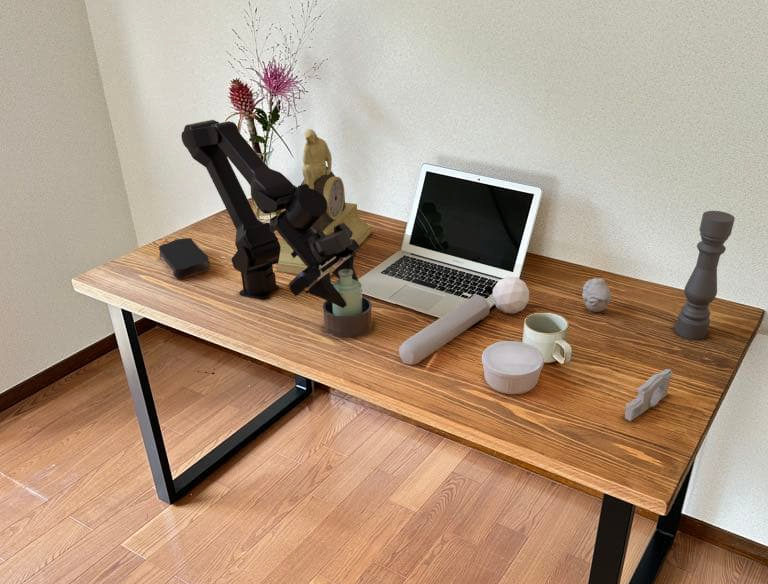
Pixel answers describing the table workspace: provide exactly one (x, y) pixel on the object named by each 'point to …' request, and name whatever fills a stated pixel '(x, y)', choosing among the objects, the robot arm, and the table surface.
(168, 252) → the black sponge
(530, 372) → the ramekin
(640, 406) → the garden wall model
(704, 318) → the candle holder
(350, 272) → the bottle
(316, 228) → the decorative clock
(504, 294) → the ball
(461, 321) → the tube
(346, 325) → the cup
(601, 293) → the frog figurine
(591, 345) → the table surface
